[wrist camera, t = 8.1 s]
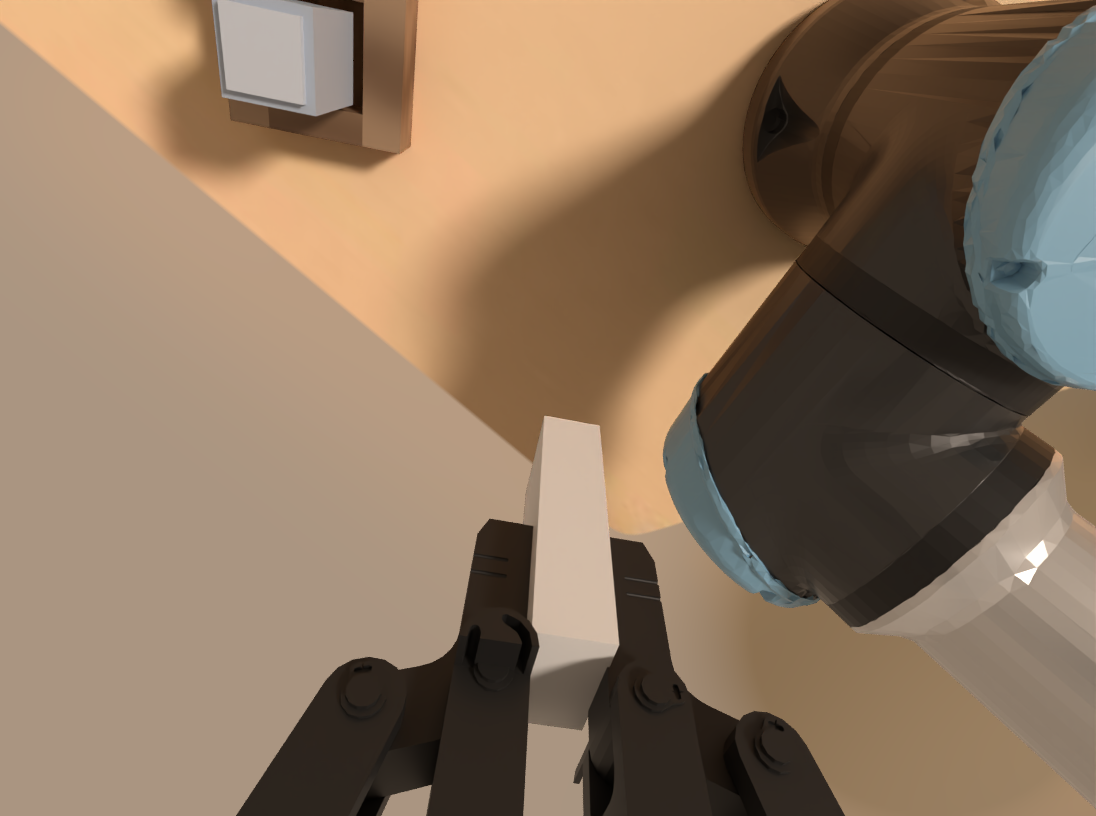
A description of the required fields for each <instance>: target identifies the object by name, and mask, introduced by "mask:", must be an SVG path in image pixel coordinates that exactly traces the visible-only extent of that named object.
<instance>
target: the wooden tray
mask: <svg viewBox="0 0 1096 816" xmlns="http://www.w3.org/2000/svg"><path fill="white" fill-rule="evenodd" d="M354 1H358V2H363V3H364V34H363V107H361V106H356V105H351V106H348V107H344V108H341V109H338V110H335V111H331V112H328V113H325V114H322V115H319V116H312V115H307V114H302V113H297V112H292V111H287V110H282V109H278V108H273V107H268V106H263V105H258V104H253V103H248V102H243V101H238V100H233V99H229V107H230V117H231V120H233V121H238V122H243V123H248V124H253V125H258V126H262V127H267V128H272V129H277V130H282V131H287V132H292V133H297V134H302V135H307V136H312V137H317V138H322V139H327V140H332V141H337V142H342V143H347V144H352V145H357V146H362V147H367V148H372V149H377V150H382V151H387V152H392V153H397V154H400V153H402V152H403V151H405V150H406V149H408V148H409V147H410V146H411V127H412V108H413V89H414V70H415V50H416V31H417V12H418V0H354Z"/></svg>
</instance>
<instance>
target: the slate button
mask: <svg viewBox="0 0 1096 816" xmlns="http://www.w3.org/2000/svg"><path fill="white" fill-rule="evenodd" d="M212 8H213V18H214V27H215V36H216V45H217V55H218V64H219V73H220V83H221V92H222V97H224V98H229V99H233V100H238V101H243V102H248V103H253V104H258V105H263V106H268V107H273V108H278V109H282V110H287V111H292V112H297V113H302V114H307V115H312V116H319V115H322V114H325V113H328V112H331V111H335V110H338V109H341V108H344V107H348V106H351V105H353V12H348V11H344V10H339V9H335V8H330V7H326V6H321V5H317V4H312V3H307V2H303V1H298V0H212Z"/></svg>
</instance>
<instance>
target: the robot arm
mask: <svg viewBox="0 0 1096 816" xmlns="http://www.w3.org/2000/svg"><path fill="white" fill-rule="evenodd" d="M743 160H744V168H745V173H746V178H747V181H748V185H749V187H750V190H751V192H752V195H753V197H754V199H755V201H756V202H757V204H758V206H759V207H760V208H761V210H762V211H763V213H764V214H765V215H766V216H767V217H768V218H769V219H770V220H771V221H772V222H773V223H774V224H775V225H776V226H777V227H779V228H780V229H781V230H782V231H783V232H785V233H786V234H787V235H788V236H790V237H792V238H793V239H795V240H796V241H798V242H800V243H802V244H804V245H807V248H806V249H805V250H804V251H803V253H802V254H801V255H800V257H799V258H798V259H797V260H796V261H795V262H794V263H793V265H792V266H791V267H790V269H789V270H788V271H787V273H786V274H785V275H784V276H783V278H782V279H781V280H780V282H779V283H778V284H777V286H776V287H775V288H774V289H773V291H772V292H771V293H770V295H769V296H768V297H767V298H766V300H765V301H764V302H763V304H762V305H761V306H760V308H759V309H758V310H757V311H756V313H755V314H754V315H753V317H752V318H751V319H750V321H749V322H748V323H747V324H746V326H745V327H744V328H743V330H742V331H741V332H740V333H739V335H738V336H737V337H736V339H735V340H734V341H733V343H732V344H731V345H730V346H729V348H728V349H727V350H726V352H725V353H724V354H723V356H722V357H721V358H720V359H719V361H718V362H717V363H716V365H715V366H714V367H713V369H712V370H711V371H710V372H709V373H705V374H704V375H703V376H702V377H701V378H700V379H699V380H698V382H697V384H696V385H695V387H694V390H693V392H692V396H691V398H690V399H689V401H688V402H687V404H686V405H685V407H684V408H683V410H682V411H681V413H680V414H679V416H678V417H677V419H676V420H675V421H674V423H673V424H672V426H671V427H670V429H669V431H668V433H667V436H666V439H665V442H664V448H663V462H664V467H665V470H666V475H665V478H666V483H667V487H668V489H669V492H670V495H671V498H672V500H673V503H674V505H675V507H676V509H677V511H678V513H679V515H680V517H681V519H682V520H683V522H684V524H685V525H686V527H687V528H688V530H689V531H690V533H691V534H692V536H693V537H694V539H695V540H696V541H697V543H698V544H699V545H700V547H701V548H702V549H703V550H704V552H705V553H706V554H707V555H708V556H709V557H710V559H711V560H712V561H713V562H714V563H715V564H716V565H717V566H718V567H719V568H720V569H721V570H722V571H723V572H724V573H725V574H726V575H727V576H729V577H730V578H731V579H732V580H733V581H735V582H736V583H737V584H739V585H740V586H741V587H742V588H744V589H745V590H747V591H748V592H750V593H757V592H760V594H761V595H762V597H763V598H764V600H765V601H767V602H769V603H772V604H774V605H777V606H781V607H787V608H794V607H798V606H803V605H810V604H814V603H817V602H818V601H819V600H820V599H821V600H822V601H823V602H824V603H825V604H827V605H828V606H829V607H830V608H831V609H832V610H833V611H834V612H835V613H836V614H837V615H838V616H839V617H840V618H841V619H842V620H843V621H845V622H846V623H847V624H848V625H849V626H850V627H851V628H852V629H853V630H854V631H855V632H857V633H866V634H878V635H890V636H901V637H903V638H906V639H909V640H912V641H914V642H915V643H916V644H917V645H918V646H919V647H920V648H922V649H923V650H924V651H925V652H926V653H927V654H928V655H929V656H930V657H931V658H933V659H934V660H935V661H936V662H937V663H938V664H939V665H940V666H941V667H942V668H943V669H944V670H946V671H947V672H948V673H949V674H950V675H951V676H952V677H953V678H954V679H955V680H956V681H957V682H959V683H960V684H961V685H962V686H963V687H964V688H965V689H966V690H967V691H969V693H970V694H972V695H973V696H974V697H975V698H976V699H977V700H978V701H980V703H981V704H982V705H984V706H985V707H986V708H987V709H988V710H989V711H990V712H991V713H992V714H993V715H994V716H996V717H997V718H998V719H999V720H1000V721H1001V722H1002V723H1003V724H1004V725H1005V726H1006V727H1008V729H1010V730H1011V731H1012V732H1013V733H1014V734H1015V735H1016V736H1018V738H1019V739H1021V740H1022V741H1023V742H1024V743H1025V744H1026V745H1027V746H1028V747H1029V748H1030V749H1031V750H1032V751H1033V752H1035V753H1036V754H1037V755H1038V756H1039V757H1040V758H1041V759H1042V760H1043V761H1044V762H1045V763H1047V764H1048V765H1049V766H1050V767H1051V768H1052V769H1053V770H1054V771H1055V772H1056V773H1058V774H1059V775H1060V776H1061V777H1062V778H1063V779H1064V780H1065V781H1066V782H1067V783H1068V784H1069V785H1071V786H1072V787H1073V788H1074V789H1075V790H1076V791H1077V792H1078V793H1079V794H1080V795H1081V796H1082V797H1083V798H1085V799H1086V800H1087V801H1088V802H1089V803H1090V804H1091V805H1092V806H1093V807H1094V808H1096V527H1095V526H1094V525H1093V524H1091V523H1090V522H1088V521H1087V520H1086V519H1084V518H1083V517H1081V516H1080V515H1079V514H1077V513H1076V512H1075V511H1074V510H1073V508H1072V507H1071V506H1070V505H1069V503H1068V502H1067V498H1066V487H1065V477H1064V467H1063V456H1062V455H1061V454H1060V453H1059V452H1058V451H1056V450H1055V449H1054V448H1053V447H1051V446H1050V445H1049V444H1047V443H1046V442H1044V441H1043V440H1041V439H1040V438H1039V437H1037V436H1036V435H1034V434H1033V433H1031V432H1030V431H1029V430H1027V429H1026V428H1024V427H1023V426H1022V424H1021V423H1022V422H1023V421H1024V420H1025V419H1026V418H1027V417H1028V416H1030V415H1031V414H1032V413H1033V412H1034V411H1035V410H1036V409H1038V408H1039V407H1040V406H1041V405H1042V404H1044V403H1045V402H1046V401H1047V400H1048V399H1050V398H1051V397H1052V396H1053V395H1054V394H1056V393H1057V392H1058V391H1059V390H1060V389H1062V388H1063V387H1064V386H1067V387H1072V388H1079V389H1087V390H1094V391H1096V0H1049V1H1038V2H1028V3H1017V4H1007V5H1001V4H1000V3H998V2H997V1H996V0H829V1H827V2H826V3H825V4H823V5H822V6H820V7H819V8H818V9H816V10H815V11H814V12H813V13H811V14H810V15H809V16H808V17H807V18H806V19H804V20H803V21H802V22H801V23H800V24H799V25H798V26H797V27H796V28H795V29H794V30H793V31H792V32H791V34H790V35H789V36H788V37H787V38H786V39H785V40H784V42H783V43H782V44H781V46H780V47H779V48H778V50H777V51H776V52H775V54H774V55H773V57H772V58H771V60H770V62H769V63H768V65H767V67H766V68H765V70H764V72H763V74H762V76H761V78H760V80H759V82H758V84H757V86H756V89H755V91H754V94H753V97H752V99H751V102H750V106H749V109H748V113H747V117H746V122H745V128H744V136H743ZM657 582H658V580H657V574H656V568H655V562H654V560H653V559H652V557H651V556H650V554H649V552H648V551H647V549H646V547H645V546H644V544H643V543H641V542H635V541H629V540H623V539H617V538H611V537H610V536H609V524H608V513H607V502H606V490H605V479H604V468H603V456H602V445H601V434H600V426H599V425H594V424H588V423H583V422H578V421H572V420H567V419H561V418H556V417H550V416H545V415H544V419H543V423H542V427H541V432H540V436H539V440H538V444H537V448H536V453H535V457H534V461H533V465H532V470H531V474H530V478H529V482H528V487H527V490H526V498H525V509H524V521H523V524H519V523H513V522H506V521H501V520H494V519H489V520H488V522H487V523H486V524H485V525H484V526H483V528H482V529H481V530H480V531H479V533H478V534H477V540H476V545H475V550H474V555H473V561H472V566H471V571H470V577H469V582H468V588H467V593H466V599H465V604H464V610H463V615H462V621H461V626H460V632H459V635H458V639H457V641H456V642H455V644H454V645H453V647H452V648H451V650H450V651H449V652H447V653H446V654H445V655H444V656H443V657H441V658H440V659H438V660H436V661H434V662H432V663H429V664H426V665H422V666H418V667H412V668H407V669H401V670H398V669H397V667H395V666H393V665H392V664H390V663H389V662H387V661H386V660H383V659H378V658H372V657H366V658H360V659H355V660H351V661H349V662H348V663H346V664H344V665H342V666H340V667H338V668H337V669H336V670H335V671H334V672H333V673H332V674H331V675H330V677H329V678H328V679H327V680H326V681H325V682H324V684H323V685H322V687H321V688H320V690H319V691H318V693H317V694H316V696H315V697H314V699H313V701H312V702H311V703H310V705H309V707H308V708H307V710H306V711H305V713H304V714H303V716H302V717H301V719H300V720H299V722H298V723H297V725H296V726H295V728H294V730H293V731H292V732H291V734H290V735H289V737H288V738H287V740H286V742H285V743H284V744H283V746H282V747H281V749H280V750H279V752H278V753H277V755H276V757H275V758H274V759H273V761H272V762H271V764H270V765H269V767H268V768H267V770H266V772H265V773H264V775H263V776H262V778H261V779H260V780H259V782H258V784H257V785H256V787H255V788H254V790H253V791H252V793H251V794H250V796H249V797H248V799H247V800H246V802H245V803H244V805H243V806H242V808H241V809H240V811H239V812H238V814H237V815H236V816H381V815H382V813H383V810H384V808H385V806H386V804H387V802H388V800H389V797H390V795H392V794H397V793H400V792H404V791H409V790H412V789H417V788H420V787H424V786H428V785H432V787H431V792H430V798H429V803H428V809H427V815H426V816H523V807H524V789H525V770H526V751H527V731H528V723H532V724H540V725H547V726H554V727H561V728H569V729H577V730H582V729H583V727H584V725H585V722H586V720H587V718H588V725H589V742H588V744H587V746H586V749H585V751H584V753H583V755H582V757H581V759H580V762H579V764H578V766H577V768H576V771H575V777H574V782H573V783H577V784H579V783H580V781H581V779H582V777H583V808H584V816H845V815H844V813H843V811H842V809H841V808H840V806H839V804H838V802H837V800H836V798H835V797H834V795H833V793H832V791H831V789H830V788H829V786H828V784H827V782H826V780H825V778H824V776H823V775H822V773H821V771H820V769H819V767H818V766H817V764H816V762H815V760H814V758H813V756H812V755H811V753H810V751H809V749H808V747H807V745H806V744H805V743H804V741H803V740H802V738H801V737H800V736H799V734H798V733H797V732H796V731H795V730H794V729H793V728H792V727H791V726H790V725H788V724H787V723H786V722H785V721H784V720H782V719H780V718H778V717H776V716H774V715H772V714H770V713H767V712H757V711H754V712H751V713H749V714H746V715H744V716H743V717H742V718H741V720H740V721H739V720H737V719H735V718H733V717H731V716H729V715H727V714H725V713H722V712H720V711H718V710H716V709H714V708H712V707H710V706H708V705H706V704H705V703H702V702H701V701H700V700H698V699H697V698H695V697H694V696H693V695H692V694H691V693H690V692H688V691H687V688H686V686H685V684H684V683H683V681H682V680H681V679H680V678H679V676H678V675H677V674H676V673H675V671H674V668H673V665H672V661H671V656H670V650H669V644H668V639H667V632H666V627H665V621H664V616H663V609H662V603H661V602H660V591H659V586H658V585H657Z"/></svg>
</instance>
